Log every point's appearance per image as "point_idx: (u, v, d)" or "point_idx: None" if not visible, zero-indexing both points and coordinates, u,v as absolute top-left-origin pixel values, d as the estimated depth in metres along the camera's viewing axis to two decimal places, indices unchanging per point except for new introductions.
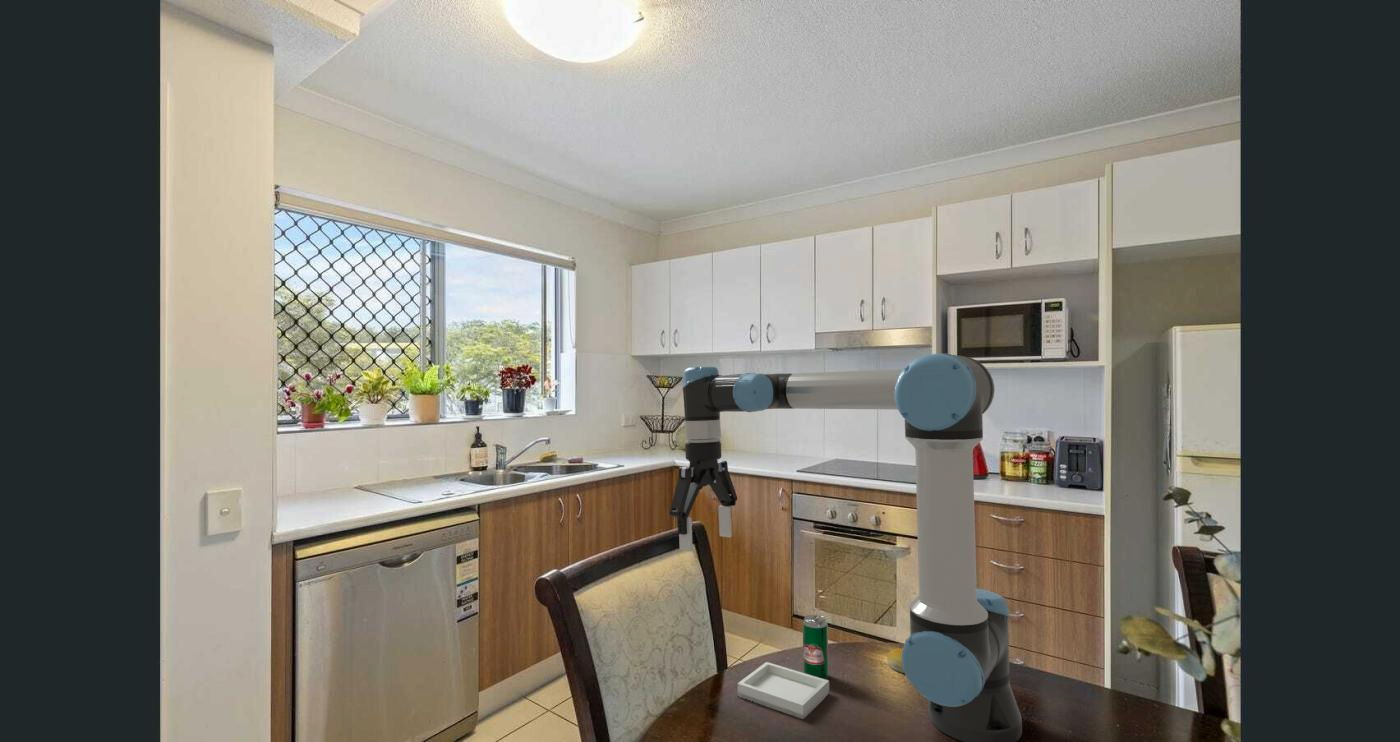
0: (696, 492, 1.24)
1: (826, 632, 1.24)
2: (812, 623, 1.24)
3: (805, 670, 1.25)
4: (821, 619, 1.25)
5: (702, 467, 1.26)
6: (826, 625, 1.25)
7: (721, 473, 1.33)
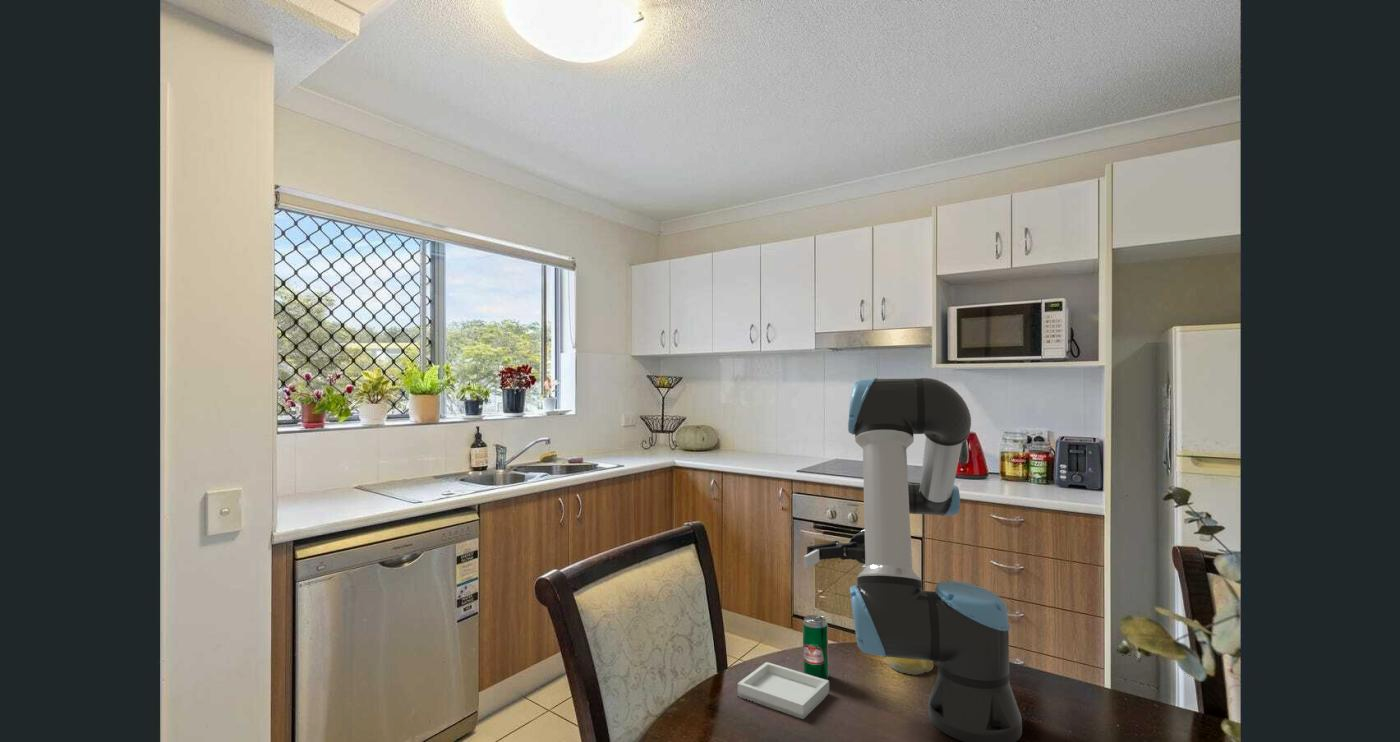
0: (835, 547, 1.45)
1: (826, 632, 1.24)
2: (812, 623, 1.24)
3: (805, 670, 1.25)
4: (821, 619, 1.25)
5: None
6: (826, 625, 1.25)
7: None
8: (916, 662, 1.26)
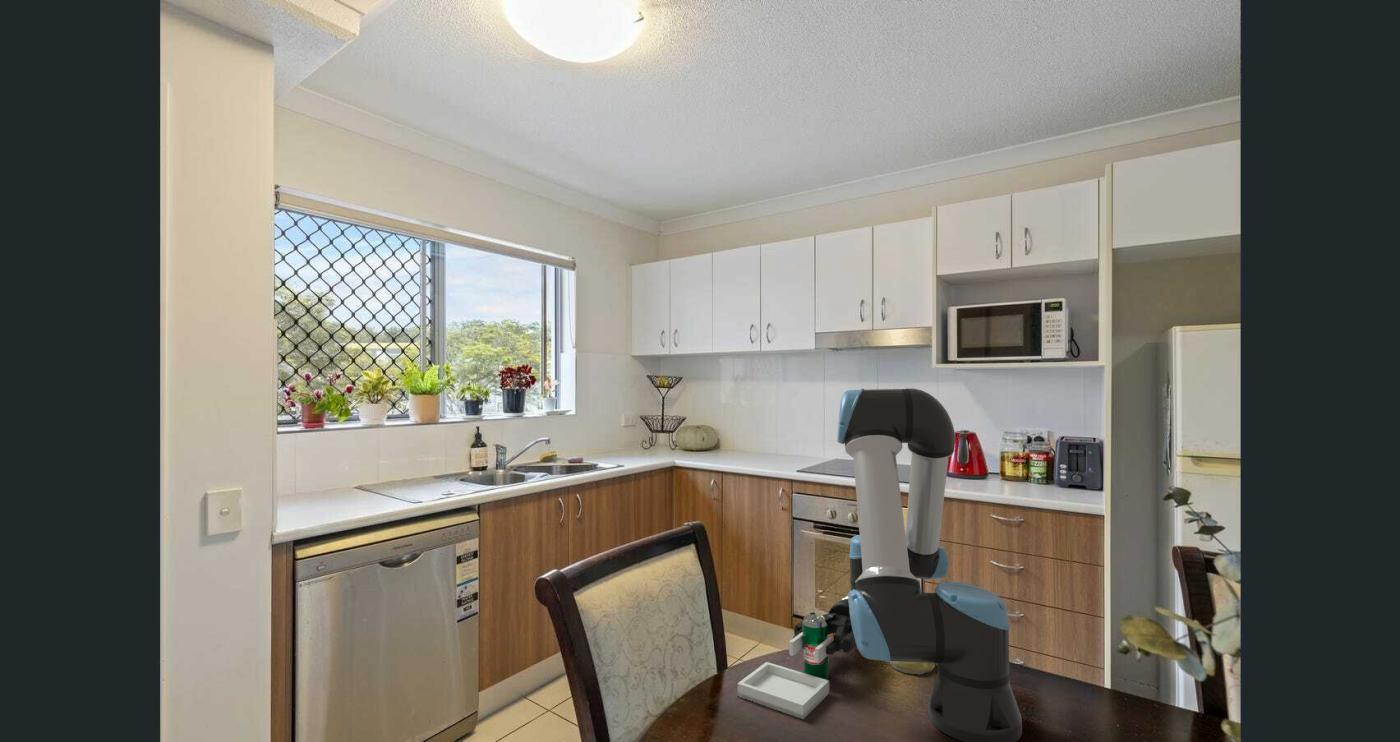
0: None
1: (826, 632, 1.24)
2: (812, 623, 1.24)
3: (805, 670, 1.25)
4: (821, 619, 1.25)
5: None
6: (826, 625, 1.25)
7: None
8: (917, 662, 1.27)
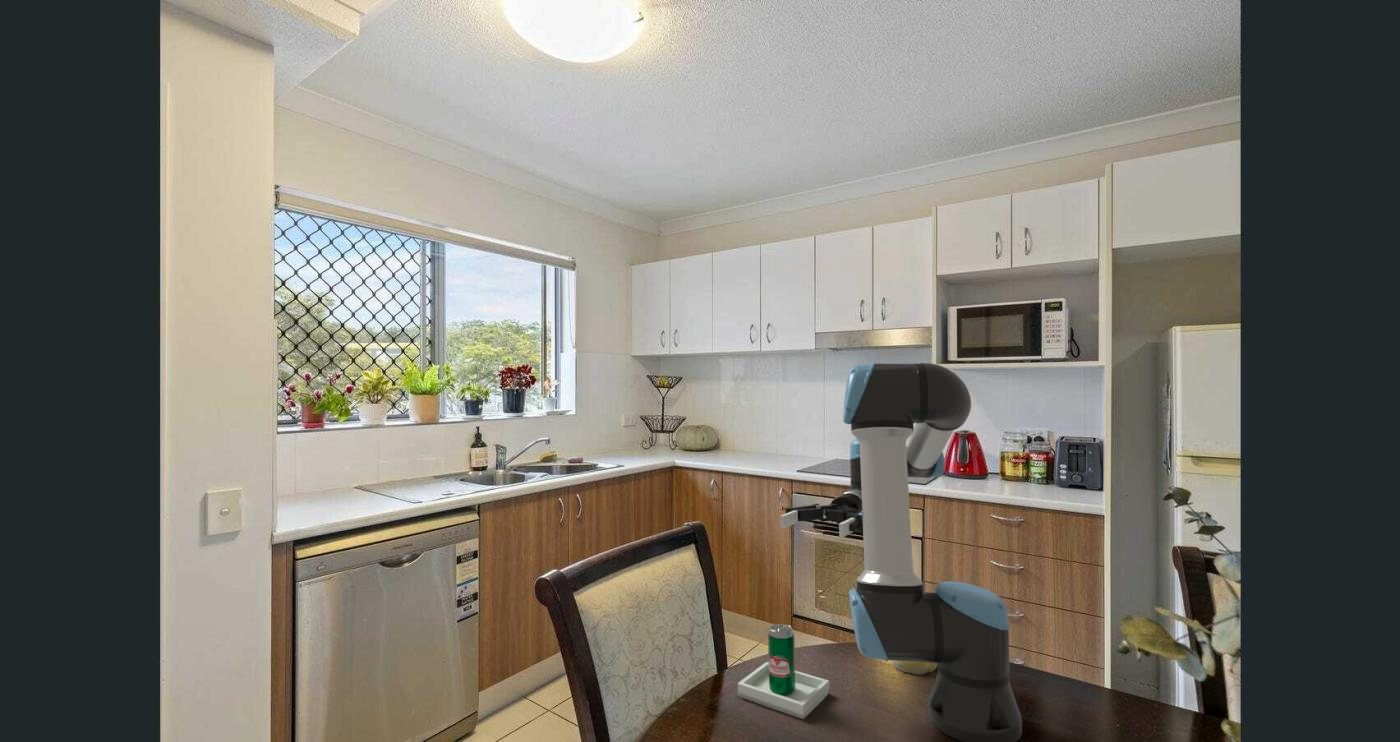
0: (815, 508, 1.41)
1: (792, 642, 1.18)
2: (778, 633, 1.17)
3: (770, 683, 1.18)
4: (787, 629, 1.19)
5: None
6: (792, 635, 1.18)
7: (862, 516, 1.37)
8: (919, 662, 1.27)
